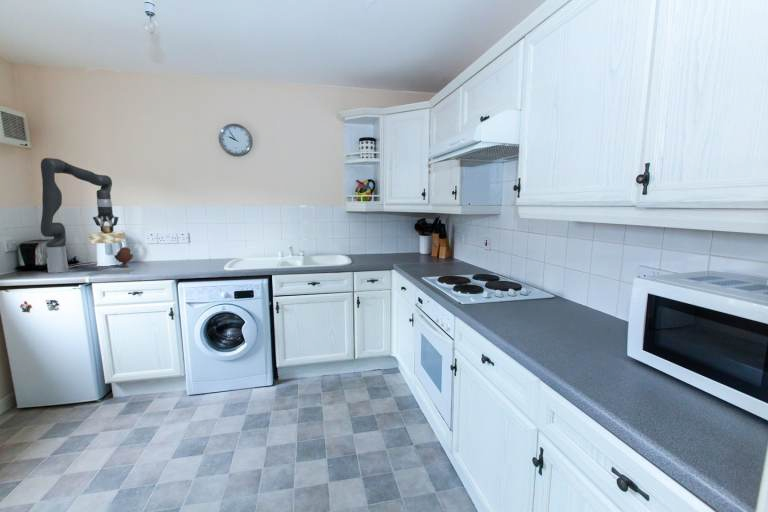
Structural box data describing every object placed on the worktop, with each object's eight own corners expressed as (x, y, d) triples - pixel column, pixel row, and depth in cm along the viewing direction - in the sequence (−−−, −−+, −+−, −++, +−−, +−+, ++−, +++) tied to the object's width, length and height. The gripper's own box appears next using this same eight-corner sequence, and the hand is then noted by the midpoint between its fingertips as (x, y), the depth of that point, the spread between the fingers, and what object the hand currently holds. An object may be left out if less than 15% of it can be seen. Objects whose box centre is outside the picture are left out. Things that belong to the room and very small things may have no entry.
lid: (89, 243, 221) (87, 226, 220) (100, 240, 235) (98, 225, 233) (116, 243, 225) (114, 226, 224) (125, 240, 239) (124, 225, 238)
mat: (84, 275, 223) (84, 275, 223) (96, 271, 237) (96, 270, 237) (127, 274, 230) (127, 273, 230) (136, 270, 244) (136, 269, 244)
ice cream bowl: (117, 267, 254) (115, 246, 251) (135, 266, 258) (134, 246, 256) (113, 269, 244) (111, 248, 242) (132, 268, 249) (130, 248, 247)
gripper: (88, 206, 221) (91, 232, 224) (114, 206, 225) (117, 232, 228) (94, 205, 228) (97, 231, 231) (119, 206, 232) (122, 231, 235)
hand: (107, 232), depth 229 cm, fingers closed on lid, 4 cm apart
